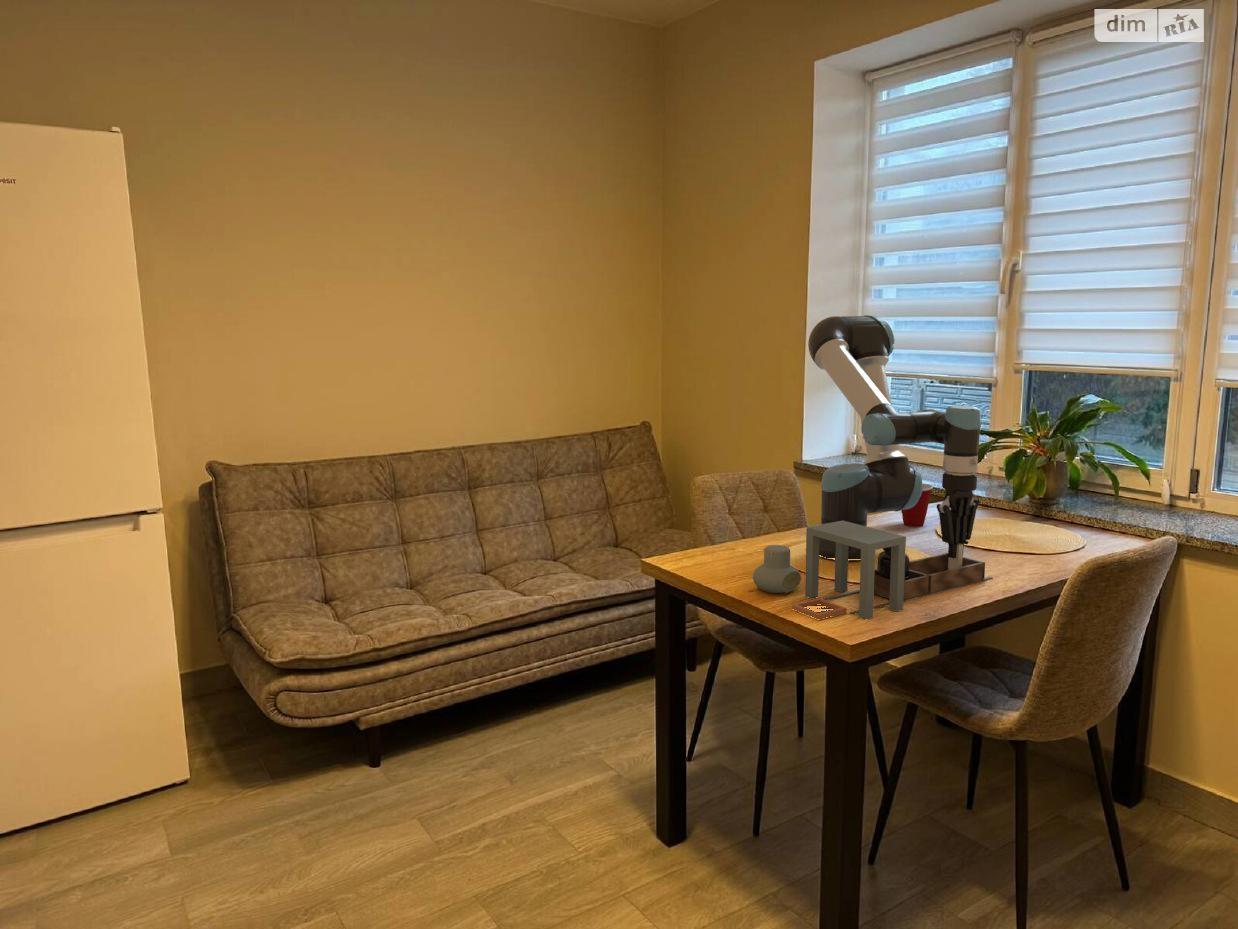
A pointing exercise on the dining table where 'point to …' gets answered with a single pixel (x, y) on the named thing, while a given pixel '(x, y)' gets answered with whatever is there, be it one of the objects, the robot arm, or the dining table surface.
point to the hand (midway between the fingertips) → (954, 570)
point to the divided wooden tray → (933, 576)
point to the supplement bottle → (889, 564)
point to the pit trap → (819, 615)
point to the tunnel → (868, 543)
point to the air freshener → (776, 571)
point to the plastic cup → (918, 508)
